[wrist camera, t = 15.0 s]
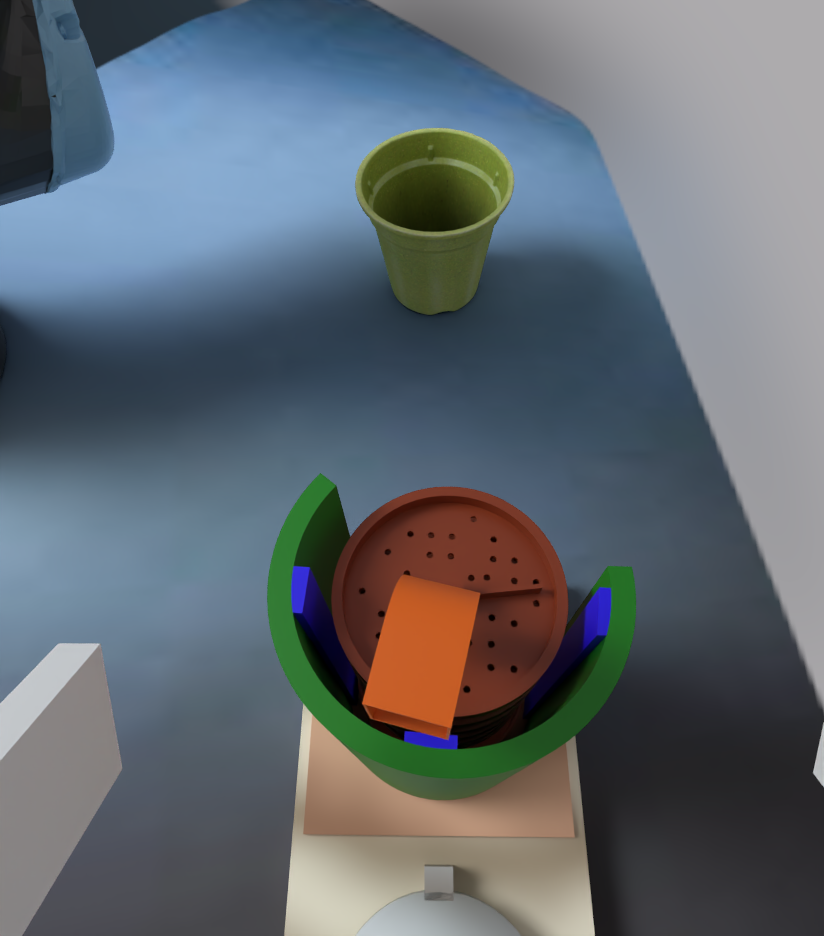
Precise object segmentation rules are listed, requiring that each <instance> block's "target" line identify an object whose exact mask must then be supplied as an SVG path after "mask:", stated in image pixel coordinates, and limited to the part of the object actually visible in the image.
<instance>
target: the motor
mask: <svg viewBox="0 0 824 936" xmlns="http://www.w3.org/2000/svg"><path fill="white" fill-rule="evenodd" d="M267 603H268V616H269V624H270V630H271V635H272V639H273V643H274V646H275V650H276V653H277V655H278V658H279V661H280V663H281V666H282V668H283V670H284V672H285V675H286V676H287V678H288V680H289V682H290V684H291V686H292V687H293V689H294V690H295V692H296V694H297V695H298V697H299V698H300V700H301V701H302V702H303V704H304V705H305V706H306V707H307V709H308V710H309V711H310V712H311V713H312V715H313V716H314V717H315V718H316V719H317V720H318V721H319V722H320V723H321V724H322V725H323V726H324V727H325V728H326V729H327V730H328V731H329V732H330V733H331V734H332V735H333V736H334V737H336V738H337V739H338V740H339V741H340V742H341V743H342V744H343V745H344V746H345V747H346V748H347V749H348V750H349V751H350V752H351V753H352V754H354V755H355V756H356V757H357V758H358V759H359V760H360V761H361V762H362V763H363V764H364V765H365V766H366V767H367V768H368V769H369V770H370V771H372V772H373V773H374V774H375V775H376V776H377V777H378V778H380V779H381V780H382V781H384V782H385V783H387V784H388V785H390V786H392V787H394V788H395V789H397V790H399V791H402V792H404V793H406V794H409V795H412V796H416V797H419V798H424V799H430V800H456V799H462V798H467V797H470V796H474V795H477V794H479V793H482V792H484V791H486V790H488V789H490V788H492V787H494V786H495V785H497V784H499V783H501V782H502V781H504V780H506V779H507V778H509V777H511V776H512V775H514V774H516V773H517V772H519V771H521V770H523V769H524V768H526V767H528V766H529V765H531V764H533V763H534V762H536V761H538V760H539V759H541V758H543V757H544V756H546V755H548V754H550V753H551V752H553V751H555V750H556V749H558V748H559V747H561V746H562V745H563V744H565V743H566V742H568V741H569V740H570V739H571V738H573V737H574V736H575V735H576V734H577V733H579V732H580V731H581V730H582V729H583V728H584V727H585V726H586V725H587V724H588V723H589V722H590V721H591V719H592V718H593V717H594V716H595V715H596V714H597V713H598V711H599V710H600V709H601V707H602V706H603V705H604V703H605V702H606V700H607V699H608V697H609V696H610V694H611V693H612V691H613V689H614V687H615V685H616V684H617V682H618V680H619V678H620V675H621V673H622V671H623V669H624V666H625V663H626V660H627V658H628V655H629V651H630V647H631V643H632V639H633V633H634V627H635V617H636V592H635V583H634V576H633V571H632V567H620V566H608V567H607V568H606V570H605V571H604V572H603V574H602V575H601V577H600V578H599V580H598V581H597V583H596V584H595V585H594V587H593V588H592V590H591V591H590V593H589V594H588V596H587V597H586V598H585V600H584V601H583V603H582V604H581V606H580V607H579V609H578V610H577V611H576V613H575V614H574V616H573V617H572V619H571V620H570V622H569V623H568V624H567V626H566V623H567V617H568V591H567V584H566V580H565V575H564V572H563V569H562V566H561V563H560V561H559V558H558V556H557V554H556V552H555V550H554V548H553V546H552V545H551V543H550V542H549V540H548V539H547V537H546V536H545V535H544V533H543V532H542V531H541V530H540V528H539V527H538V526H537V525H536V524H535V523H534V522H533V521H532V520H531V519H530V518H529V517H528V516H526V515H525V514H524V513H523V512H521V511H520V510H519V509H517V508H516V507H514V506H513V505H511V504H509V503H508V502H506V501H504V500H502V499H500V498H498V497H495V496H493V495H490V494H488V493H484V492H481V491H477V490H473V489H468V488H461V487H434V488H427V489H421V490H417V491H414V492H411V493H407V494H405V495H402V496H400V497H398V498H396V499H393V500H391V501H390V502H388V503H386V504H385V505H383V506H381V507H380V508H379V509H377V510H376V511H374V512H373V513H372V514H371V515H370V516H369V517H367V518H366V519H365V520H364V521H363V522H362V523H361V524H360V526H359V527H358V528H357V529H356V530H355V532H354V533H353V534H352V536H351V537H350V535H349V531H348V527H347V524H346V520H345V516H344V512H343V509H342V505H341V501H340V498H339V494H338V490H337V487H336V485H335V484H334V483H332V482H331V481H330V480H329V479H327V478H326V477H325V476H324V475H322V474H321V473H320V474H319V475H318V476H317V477H316V478H315V479H314V480H313V481H312V483H311V484H310V485H309V486H308V487H307V488H306V490H305V491H304V492H303V493H302V495H301V496H300V497H299V499H298V500H297V502H296V503H295V505H294V506H293V508H292V510H291V511H290V513H289V515H288V517H287V519H286V521H285V523H284V525H283V527H282V529H281V531H280V534H279V537H278V539H277V542H276V545H275V548H274V552H273V556H272V560H271V564H270V570H269V577H268V591H267ZM358 692H359V695H360V700H361V703H362V707H363V709H364V712H365V714H366V716H367V718H368V720H369V722H370V724H371V726H372V727H370V726H369V725H367V724H366V723H364V722H363V721H361V720H360V719H358V718H357V717H355V716H354V714H353V709H352V705H357V701H358ZM524 699H525V702H524V712H523V719H528V721H527V724H526V726H525V729H524V731H523V733H522V735H520V736H518V737H515V738H513V739H510V740H507V741H504V742H502V741H503V740H504V738H505V737H506V736H507V735H508V733H509V732H510V731H511V729H512V728H513V726H514V724H515V723H516V721H517V719H518V717H519V714H520V712H521V709H522V705H523V701H524Z"/></svg>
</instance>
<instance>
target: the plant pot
mask: <svg viewBox="0 0 824 936" xmlns="http://www.w3.org/2000/svg"><path fill="white" fill-rule="evenodd" d="M355 188H356V194H357V199H358V201H359V204H360V206H361V207H362V209H363V211H364V212H365V213H366V215H367V216H368V217H369V218H370V220H371V222H372V224H373V225H374V227H375V228H376V231H377V235H378V238H379V242H380V245H381V249H382V253H383V256H384V260H385V264H386V268H387V272H388V276H389V279H390V283H391V287H392V289H393V292H394V294H395V296H396V298H397V299H398V300H399V301H400V302H401V303H402V304H403V305H404V306H406V307H407V308H409V309H411V310H413V311H416V312H418V313H422V314H428V315H434V314H436V313H439V312H444V311H456V310H458V309H460V308H462V307H463V306H465V305H466V304H467V303H468V302H469V301H470V300H471V299H472V298H473V296H474V295H475V293H476V290H477V287H478V283H479V280H480V276H481V272H482V268H483V265H484V261H485V257H486V253H487V250H488V246H489V242H490V239H491V235H492V231H493V228H494V225H495V224H496V222H497V221H498V219H499V216H500V215H501V214H502V213H503V211H504V210H505V208H506V207H507V205H508V203H509V201H510V199H511V196H512V193H513V188H514V174H513V170H512V167H511V165H510V163H509V161H508V159H507V158H506V157H505V156H504V154H503V153H501V151H500V150H499V149H498V148H497V147H495V146H494V145H493V144H491V143H490V142H489V141H487V140H485V139H483V138H481V137H478V136H475V135H473V134H471V133H468V132H464V131H458V130H453V129H448V128H430V129H419V130H413V131H410V132H405V133H402V134H399V135H397V136H394V137H392V138H390V139H388V140H386V141H384V142H382V143H381V144H379V145H378V146H376V148H374V149H373V150H372V151H371V152H370V153H369V154H368V155H367V156H366V157H365V158H364V160H363V161H362V163H361V164H360V167H359V169H358V172H357V175H356V181H355Z"/></svg>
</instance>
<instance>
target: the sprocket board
mask: <svg viewBox="0 0 824 936" xmlns="http://www.w3.org/2000/svg"><path fill="white" fill-rule="evenodd" d="M524 702H525V699H524V701H523V705H522V709H521V712H520V714H519V717H518V719H517V721H516V723H515V724H514V726H513V728H512V729H511V731H510V732H509V733H508V735H507V736H506V737H505V738H504V740H503V741H502V742H504V741H507V740H510V739H513V738H515V737H518V736H520V735H522V733H523V731H524V729H525V726H526V724H527V721H528V719H523V712H524ZM352 709H353V714H354V716H355V717H357V718H358V719H360V720H361V721H363V722H364V723H366V724H367V725H369V726H370V727H372V726H371V724H370V722H369V720H368V718H367V716H366V714H365V712H364V709H363V707H362V703H361V700H360V695H359V692H358V701H357V705H352ZM284 936H595V932H594V922H593V912H592V902H591V891H590V881H589V871H588V861H587V851H586V841H585V830H584V820H583V810H582V800H581V790H580V780H579V769H578V759H577V749H576V739H575V736H574V737H573V738H571V739H570V740H569V741H568V742H566V743H565V744H563V745H562V746H561V747H559V748H558V749H556V750H555V751H553V752H551V753H550V754H548V755H546V756H544V757H543V758H541V759H539V760H538V761H536V762H534V763H533V764H531V765H529V766H528V767H526V768H524V769H523V770H521V771H519V772H517V773H516V774H514V775H512V776H511V777H509V778H507V779H506V780H504V781H502V782H501V783H499V784H497V785H495V786H494V787H492V788H490V789H488V790H486V791H484V792H482V793H479V794H477V795H474V796H470V797H467V798H462V799H456V800H430V799H424V798H419V797H416V796H412V795H409V794H406V793H404V792H402V791H399V790H397V789H395V788H394V787H392V786H390V785H388V784H387V783H385V782H384V781H382V780H381V779H380V778H378V777H377V776H376V775H375V774H374V773H373V772H372V771H370V770H369V769H368V768H367V767H366V766H365V765H364V764H363V763H362V762H361V761H360V760H359V759H358V758H357V757H356V756H355V755H354V754H352V753H351V752H350V751H349V750H348V749H347V748H346V747H345V746H344V745H343V744H342V743H341V742H340V741H339V740H338V739H337V738H336V737H334V736H333V735H332V734H331V733H330V732H329V731H328V730H327V729H326V728H325V727H324V726H323V725H322V724H321V723H320V722H319V721H318V720H317V719H316V718H315V717H314V716H313V715H312V713H311V712H310V711H309V710H308V709H307V707H306V706H305V705H304V704H303V715H302V728H301V740H300V752H299V764H298V776H297V788H296V801H295V813H294V825H293V837H292V849H291V862H290V874H289V886H288V898H287V910H286V923H285V935H284Z"/></svg>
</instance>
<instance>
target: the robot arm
mask: <svg viewBox="0 0 824 936" xmlns="http://www.w3.org/2000/svg"><path fill="white" fill-rule="evenodd" d="M113 150H114V133H113V128H112V123H111V119H110V115H109V111H108V108H107V104H106V101H105V97H104V94H103V90H102V87H101V84H100V81H99V77H98V74H97V71H96V68H95V65H94V62H93V59H92V56H91V53H90V51H89V47H88V44H87V41H86V39H85V36H84V34H83V32H82V30H81V29H80V27H79V19H78V16H77V13H76V11H75V8H74V5H73V2H72V0H0V206H1V205H4V204H8V203H11V202H15V201H18V200H22V199H25V198H29V197H32V196H36V195H39V194H43V193H45V194H46V193H51V192H54V191H55V190H57V189H58V187H59V186H60V185H63V184H66V183H68V182H71V181H73V180H76V179H79V178H81V177H84V176H86V175H89V174H92V173H94V172H97V171H99V170H100V169H102V168H103V167H104V166H105V165H106V164H107V163H108V162H109V160H110V159H111V156H112V154H113ZM5 359H6V341H5V336H4V332H3V330H2V327H1V325H0V378H1V375H2V372H3V369H4V365H5ZM121 770H122V764H121V758H120V752H119V747H118V741H117V735H116V729H115V724H114V718H113V712H112V707H111V701H110V695H109V690H108V684H107V678H106V672H105V667H104V661H103V655H102V650H101V644H58V645H57V646H56V647H55V648H54V649H53V650H52V651H51V652H50V653H49V654H48V655H47V656H46V657H45V658H44V659H43V660H42V661H41V662H40V663H39V664H38V665H37V666H36V667H35V668H34V669H33V670H32V671H31V672H30V674H29V675H28V676H27V677H26V678H25V679H24V680H23V681H22V682H21V683H20V684H19V685H18V686H17V687H16V688H15V689H14V690H13V691H12V692H11V693H10V694H9V695H8V696H7V697H6V698H5V699H4V700H3V701H2V703H1V704H0V936H22V935H23V933H24V932H25V930H26V928H27V927H28V925H29V923H30V922H31V920H32V918H33V917H34V915H35V913H36V912H37V910H38V908H39V907H40V905H41V903H42V902H43V900H44V898H45V897H46V895H47V893H48V892H49V890H50V888H51V887H52V885H53V883H54V882H55V880H56V878H57V877H58V875H59V873H60V872H61V870H62V868H63V867H64V865H65V863H66V862H67V860H68V858H69V857H70V855H71V853H72V852H73V850H74V848H75V847H76V845H77V843H78V842H79V840H80V838H81V837H82V835H83V833H84V832H85V830H86V828H87V827H88V825H89V823H90V822H91V820H92V818H93V817H94V815H95V813H96V812H97V810H98V808H99V807H100V805H101V803H102V802H103V800H104V798H105V797H106V795H107V793H108V792H109V790H110V788H111V787H112V785H113V783H114V782H115V780H116V778H117V777H118V775H119V773H120V772H121ZM813 774H814V775H815V776H816V778H817V779H818V780H819V782H820V783H821V784H822V786H823V787H824V724H823V728H822V733H821V738H820V742H819V747H818V752H817V757H816V761H815V766H814V771H813Z"/></svg>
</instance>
